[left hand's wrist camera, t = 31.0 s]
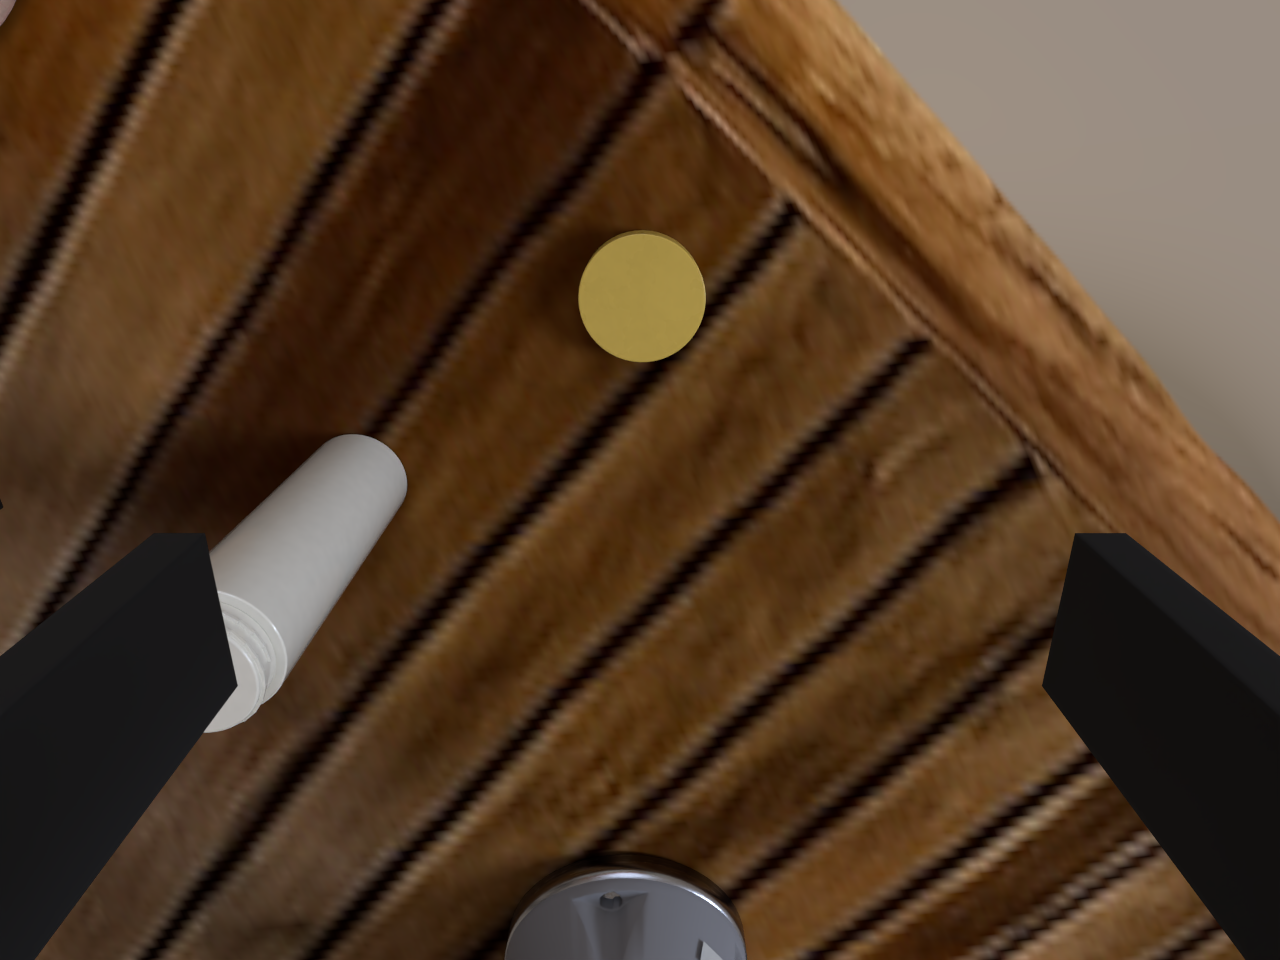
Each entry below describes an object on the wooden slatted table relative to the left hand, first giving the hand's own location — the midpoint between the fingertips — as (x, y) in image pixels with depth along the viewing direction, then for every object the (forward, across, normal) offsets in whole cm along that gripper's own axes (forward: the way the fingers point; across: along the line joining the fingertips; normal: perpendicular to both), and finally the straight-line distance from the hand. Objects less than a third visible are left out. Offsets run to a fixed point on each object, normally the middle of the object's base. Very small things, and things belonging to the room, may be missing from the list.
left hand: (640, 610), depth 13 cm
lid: (+26, 0, 0) cm, 26 cm away
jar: (+28, +14, +9) cm, 32 cm away
